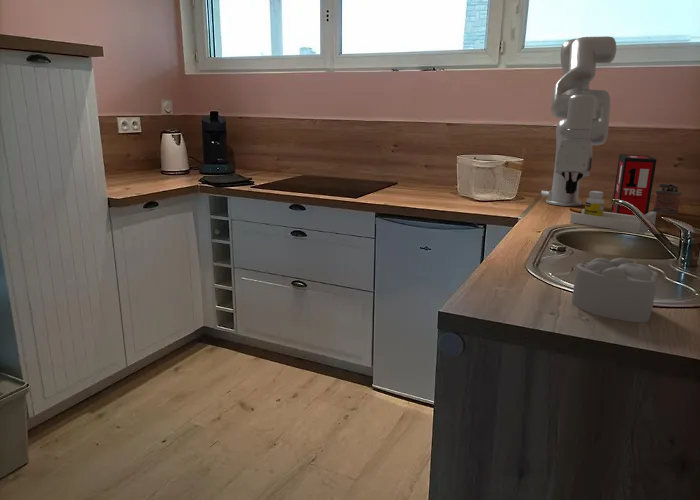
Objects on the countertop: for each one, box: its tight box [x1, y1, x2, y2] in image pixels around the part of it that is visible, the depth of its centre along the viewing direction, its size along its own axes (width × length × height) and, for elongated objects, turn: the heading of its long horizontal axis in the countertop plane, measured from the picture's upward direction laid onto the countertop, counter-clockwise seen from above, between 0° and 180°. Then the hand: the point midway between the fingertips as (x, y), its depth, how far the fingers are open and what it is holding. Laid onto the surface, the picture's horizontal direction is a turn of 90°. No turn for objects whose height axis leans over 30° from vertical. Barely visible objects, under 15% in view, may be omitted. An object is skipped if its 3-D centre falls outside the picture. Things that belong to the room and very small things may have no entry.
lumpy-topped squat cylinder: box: [571, 257, 659, 323], centre depth 97 cm, size 10×13×9 cm
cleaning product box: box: [611, 154, 657, 216], centre depth 181 cm, size 16×9×20 cm, turn 160°
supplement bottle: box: [584, 190, 605, 217], centre depth 171 cm, size 5×5×10 cm
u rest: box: [569, 208, 658, 234], centre depth 168 cm, size 22×10×5 cm, turn 48°
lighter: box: [652, 183, 683, 215], centre depth 191 cm, size 8×3×10 cm, turn 58°
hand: (570, 193), depth 175 cm, fingers closed
